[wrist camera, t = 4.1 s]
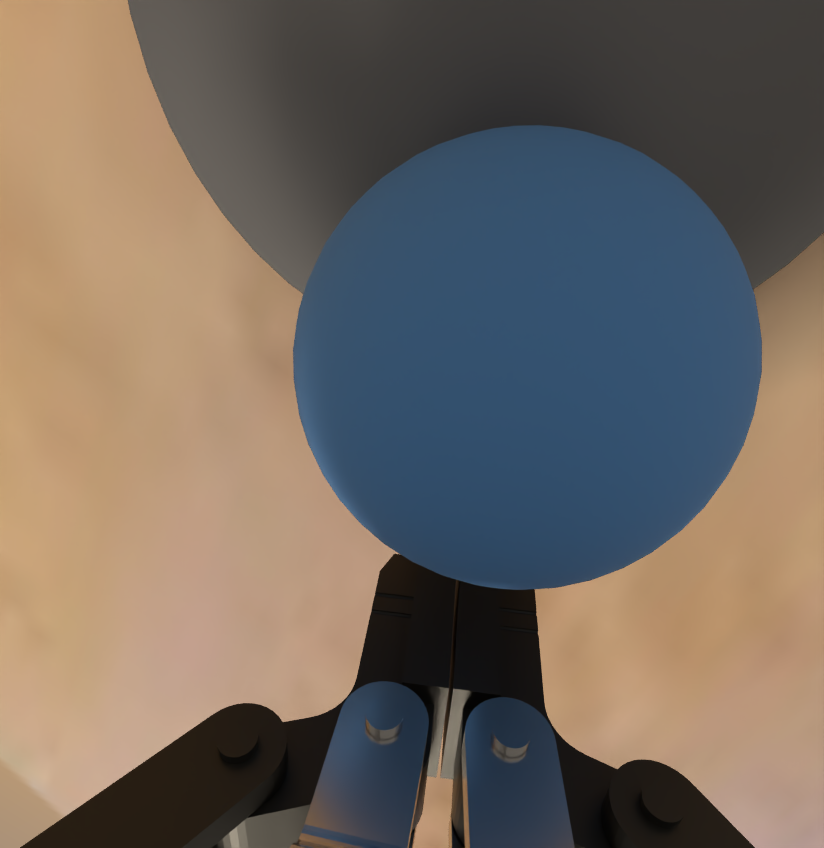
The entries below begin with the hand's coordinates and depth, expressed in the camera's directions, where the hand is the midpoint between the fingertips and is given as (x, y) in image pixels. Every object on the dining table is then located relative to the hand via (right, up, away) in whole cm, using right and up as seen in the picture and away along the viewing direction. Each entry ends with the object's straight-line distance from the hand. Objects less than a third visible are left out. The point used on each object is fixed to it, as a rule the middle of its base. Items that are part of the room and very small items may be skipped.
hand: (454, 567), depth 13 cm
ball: (+1, +4, -4) cm, 6 cm away
